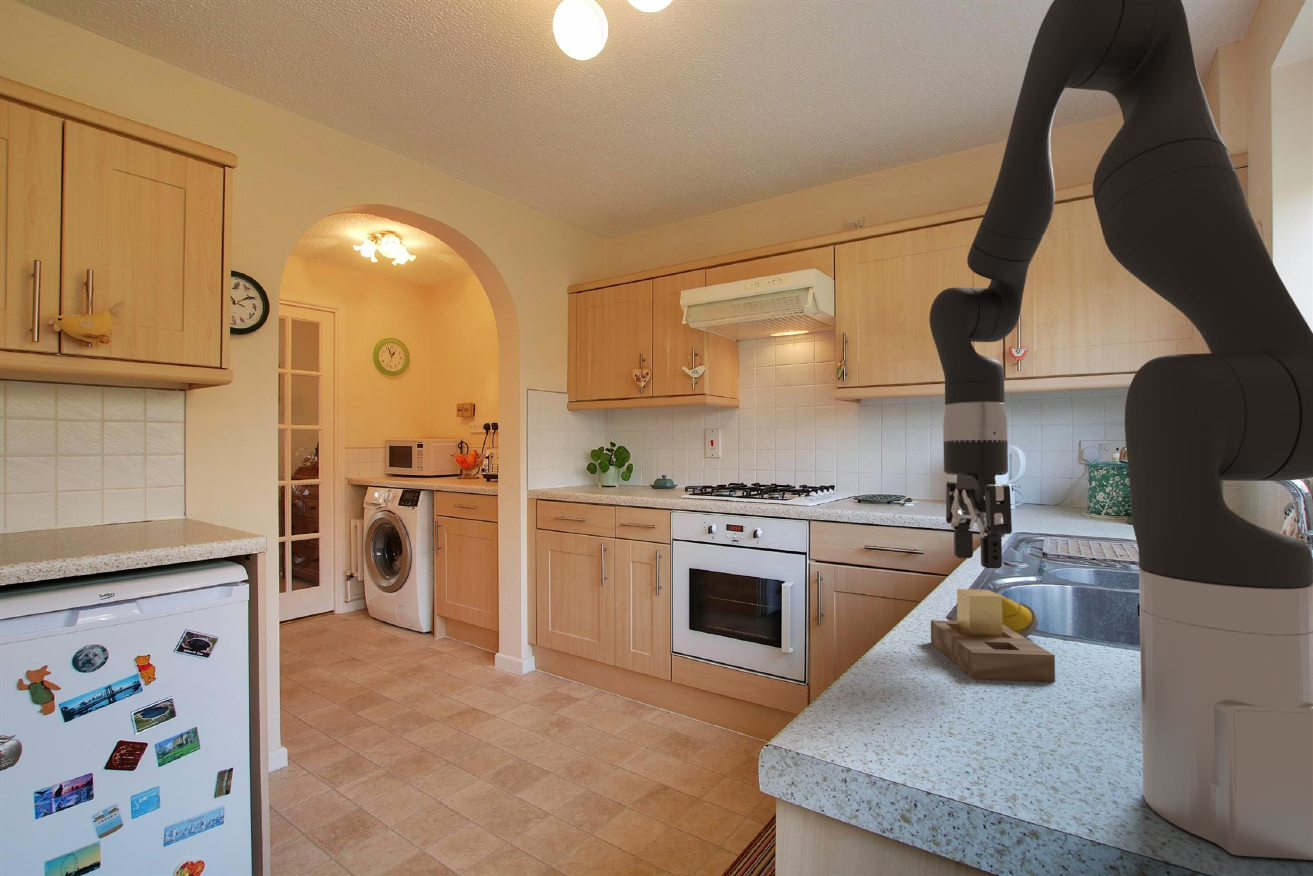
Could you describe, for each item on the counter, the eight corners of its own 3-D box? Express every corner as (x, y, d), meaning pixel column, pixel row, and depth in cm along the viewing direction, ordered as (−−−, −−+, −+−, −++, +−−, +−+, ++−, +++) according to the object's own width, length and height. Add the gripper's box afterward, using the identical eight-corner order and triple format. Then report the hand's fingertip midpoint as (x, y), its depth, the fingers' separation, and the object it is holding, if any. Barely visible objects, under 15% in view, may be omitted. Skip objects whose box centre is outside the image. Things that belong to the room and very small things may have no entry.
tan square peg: (1002, 660, 78) (1002, 596, 78) (969, 659, 78) (969, 595, 79) (989, 650, 82) (988, 589, 82) (957, 649, 82) (957, 589, 83)
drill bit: (1051, 645, 86) (1018, 601, 82) (1011, 655, 88) (977, 612, 85) (1041, 615, 90) (1009, 572, 87) (1003, 624, 93) (971, 583, 89)
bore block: (1055, 681, 71) (1054, 655, 71) (972, 678, 71) (972, 652, 71) (999, 644, 84) (998, 622, 85) (930, 642, 85) (930, 620, 85)
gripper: (1032, 436, 74) (1035, 572, 73) (981, 440, 88) (982, 555, 87) (967, 436, 74) (969, 571, 74) (926, 440, 89) (928, 554, 88)
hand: (976, 562), depth 81 cm, fingers open, 8 cm apart
